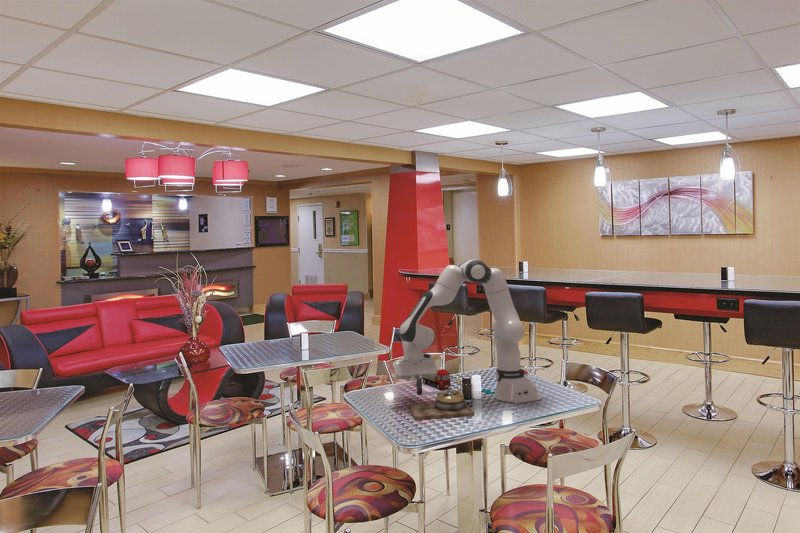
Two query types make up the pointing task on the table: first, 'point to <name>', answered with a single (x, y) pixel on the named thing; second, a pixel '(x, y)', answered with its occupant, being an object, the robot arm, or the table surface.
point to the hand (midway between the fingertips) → (417, 385)
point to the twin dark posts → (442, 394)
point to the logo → (482, 390)
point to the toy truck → (439, 379)
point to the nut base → (440, 410)
